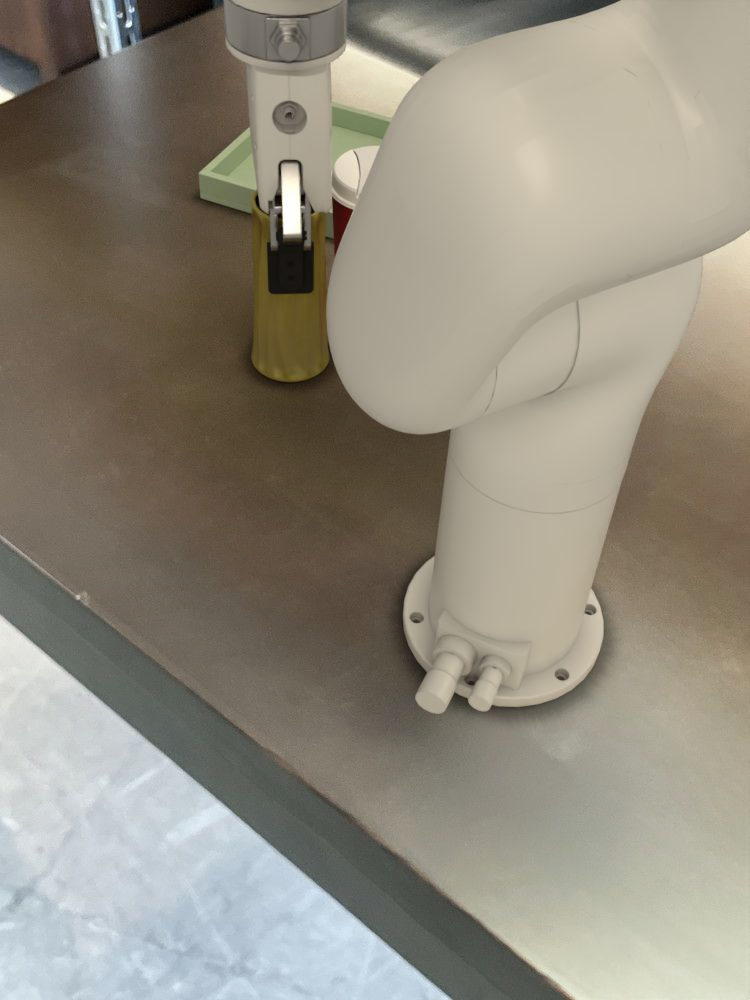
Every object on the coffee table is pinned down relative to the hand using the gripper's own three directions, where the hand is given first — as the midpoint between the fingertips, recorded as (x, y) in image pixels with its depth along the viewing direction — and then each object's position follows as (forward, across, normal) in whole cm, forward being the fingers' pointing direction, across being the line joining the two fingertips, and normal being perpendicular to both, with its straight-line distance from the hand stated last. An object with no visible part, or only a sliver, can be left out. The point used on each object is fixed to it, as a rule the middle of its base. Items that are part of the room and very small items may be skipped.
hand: (289, 263), depth 83 cm
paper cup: (+2, +4, -7) cm, 8 cm away
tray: (+9, +27, -4) cm, 28 cm away
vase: (+9, 0, 0) cm, 9 cm away
